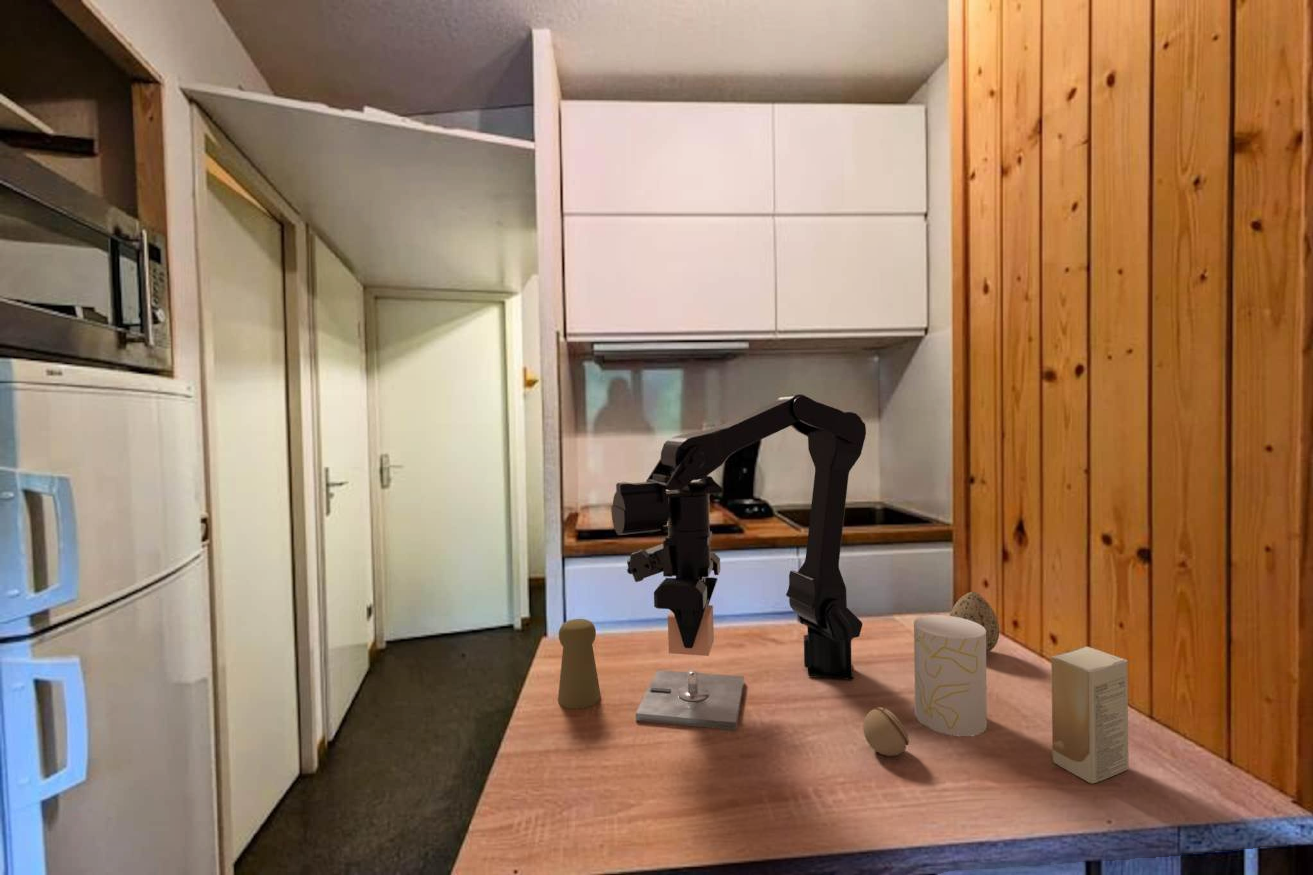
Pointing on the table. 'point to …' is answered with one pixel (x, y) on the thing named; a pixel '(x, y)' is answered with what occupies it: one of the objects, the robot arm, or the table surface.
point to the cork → (578, 665)
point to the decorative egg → (978, 616)
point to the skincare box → (1090, 713)
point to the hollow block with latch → (702, 638)
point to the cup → (950, 674)
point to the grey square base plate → (692, 699)
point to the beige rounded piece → (885, 732)
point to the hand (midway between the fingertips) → (692, 639)
